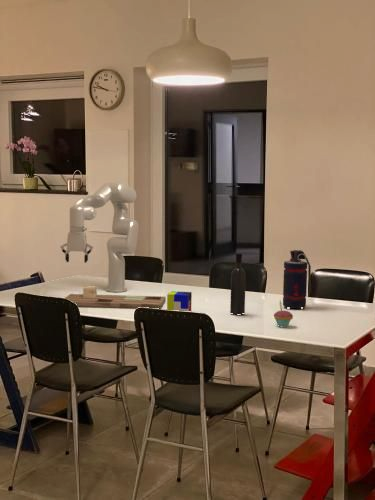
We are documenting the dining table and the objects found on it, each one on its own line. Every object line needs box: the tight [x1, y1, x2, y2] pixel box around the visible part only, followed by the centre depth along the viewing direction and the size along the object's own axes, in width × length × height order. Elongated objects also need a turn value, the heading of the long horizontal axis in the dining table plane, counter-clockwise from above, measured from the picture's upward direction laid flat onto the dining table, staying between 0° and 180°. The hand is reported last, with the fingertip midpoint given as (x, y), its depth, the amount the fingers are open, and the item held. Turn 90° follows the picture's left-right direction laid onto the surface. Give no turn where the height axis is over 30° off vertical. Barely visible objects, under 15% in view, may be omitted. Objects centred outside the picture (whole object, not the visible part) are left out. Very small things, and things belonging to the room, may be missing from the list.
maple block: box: [82, 285, 98, 298], centre depth 358 cm, size 6×6×5 cm
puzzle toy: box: [166, 290, 192, 312], centre depth 329 cm, size 10×10×10 cm
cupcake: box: [273, 300, 294, 327], centre depth 303 cm, size 9×8×12 cm
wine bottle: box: [229, 252, 247, 314], centre depth 328 cm, size 6×6×30 cm
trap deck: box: [64, 293, 167, 310], centre depth 352 cm, size 24×52×2 cm, turn 86°
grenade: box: [282, 249, 312, 309], centre depth 347 cm, size 14×12×30 cm
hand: (76, 262), depth 356 cm, fingers open, 9 cm apart
